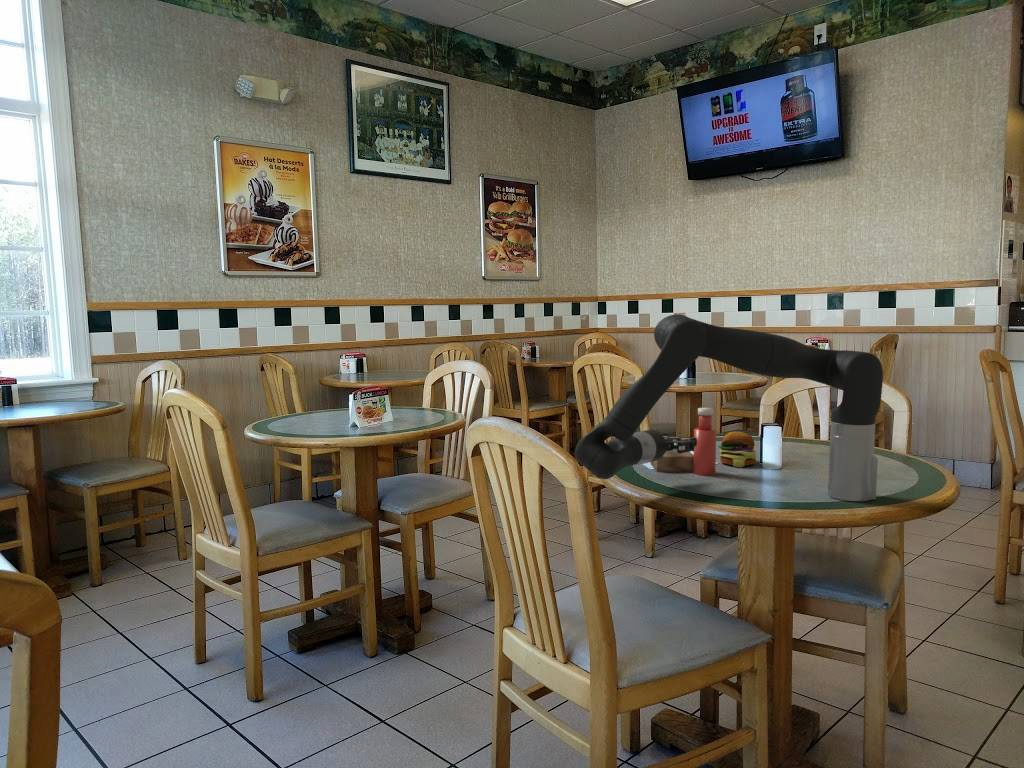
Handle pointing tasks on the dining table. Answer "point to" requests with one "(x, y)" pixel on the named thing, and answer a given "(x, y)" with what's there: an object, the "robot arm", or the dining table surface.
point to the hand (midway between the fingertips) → (680, 439)
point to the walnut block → (674, 462)
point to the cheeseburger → (737, 449)
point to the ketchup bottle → (705, 444)
